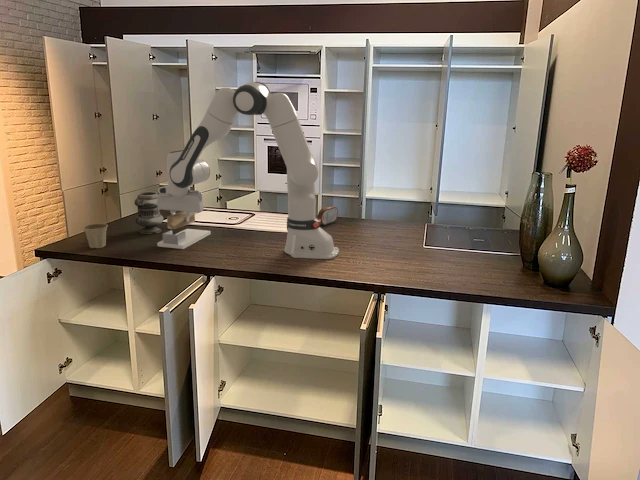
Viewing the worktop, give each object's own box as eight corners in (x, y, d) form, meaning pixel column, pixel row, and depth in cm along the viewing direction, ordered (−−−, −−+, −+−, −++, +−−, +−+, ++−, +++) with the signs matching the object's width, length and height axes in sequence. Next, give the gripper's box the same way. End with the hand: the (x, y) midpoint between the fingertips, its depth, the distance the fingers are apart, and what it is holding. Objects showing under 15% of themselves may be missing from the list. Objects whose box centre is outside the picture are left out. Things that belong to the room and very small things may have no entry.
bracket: (210, 234, 221) (210, 222, 220) (183, 249, 199) (182, 236, 197) (187, 231, 224) (186, 220, 223) (157, 246, 202) (156, 233, 200)
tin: (333, 220, 251) (334, 204, 249) (338, 221, 249) (339, 205, 247) (316, 225, 239) (316, 209, 237) (321, 226, 237) (322, 210, 235)
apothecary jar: (142, 236, 215) (139, 196, 210) (132, 230, 224) (129, 192, 219) (168, 232, 223) (165, 193, 218) (157, 226, 232) (154, 189, 227)
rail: (195, 221, 213) (194, 210, 212) (174, 229, 201) (173, 217, 199) (188, 220, 214) (187, 209, 213) (167, 228, 202) (166, 216, 201)
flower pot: (79, 248, 198) (77, 227, 195) (97, 242, 206) (95, 222, 204) (97, 251, 194) (95, 230, 192) (114, 244, 203) (112, 224, 201)
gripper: (205, 189, 204) (206, 221, 207) (162, 186, 209) (164, 217, 213) (198, 192, 198) (199, 224, 202) (154, 188, 203) (156, 220, 207)
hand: (181, 221), depth 207 cm, fingers closed on rail, 4 cm apart
